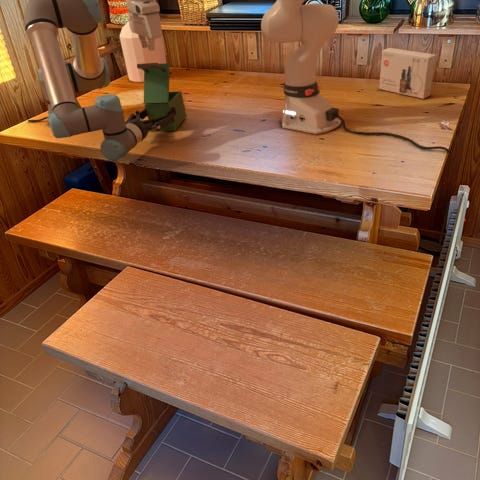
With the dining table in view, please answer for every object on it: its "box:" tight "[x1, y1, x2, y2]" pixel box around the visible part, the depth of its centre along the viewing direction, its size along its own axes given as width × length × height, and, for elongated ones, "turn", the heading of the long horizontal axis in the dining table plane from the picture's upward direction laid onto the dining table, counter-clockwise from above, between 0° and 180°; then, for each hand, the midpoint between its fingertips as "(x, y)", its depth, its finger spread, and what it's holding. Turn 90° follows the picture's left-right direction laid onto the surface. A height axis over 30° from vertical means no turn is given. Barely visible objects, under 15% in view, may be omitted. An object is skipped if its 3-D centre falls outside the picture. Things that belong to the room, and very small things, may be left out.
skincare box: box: [378, 47, 437, 100], centre depth 184 cm, size 21×6×16 cm, turn 40°
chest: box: [144, 90, 187, 132], centre depth 178 cm, size 13×10×10 cm
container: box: [119, 20, 167, 83], centre depth 235 cm, size 21×21×28 cm
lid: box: [137, 62, 171, 105], centre depth 165 cm, size 14×10×8 cm
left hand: (162, 110), depth 174 cm, fingers closed on chest, 10 cm apart
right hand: (148, 49), depth 161 cm, fingers open, 5 cm apart
